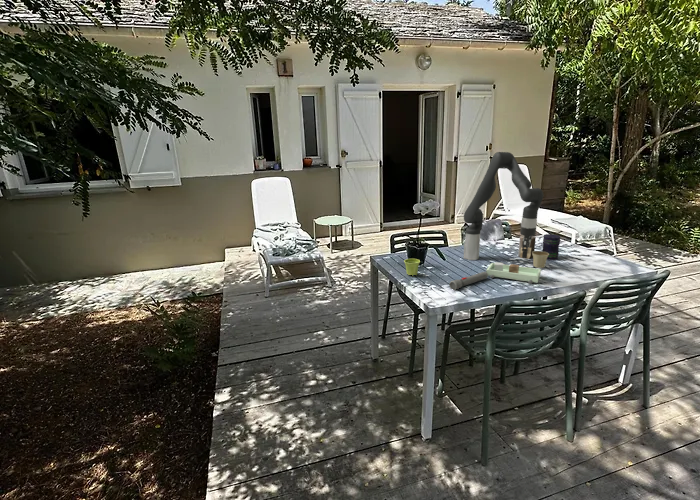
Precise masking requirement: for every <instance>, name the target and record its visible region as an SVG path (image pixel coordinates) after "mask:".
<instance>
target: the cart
mask: <svg viewBox="0 0 700 500" xmlns="http://www.w3.org/2000/svg"><path fill="white" fill-rule="evenodd" d="M509 266H510V264H504V263H503V271H497V270H495V262H491V263H490V264H489V265H488V267H487V268H486V270H485V272H487V274H488V277H489V278H490V279H491V278H492V279H494V278H503V279H510V280H517V281H521V282H527V283H528V285H532V284H533V283H536V284H537V283H538V282H539V280H540V278H541V273H542V268H537V267H535V268H534V267H526V266H520V265H519V273H512V272H509Z"/></svg>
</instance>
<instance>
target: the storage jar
mask: <svg viewBox="0 0 700 500" xmlns="http://www.w3.org/2000/svg"><path fill="white" fill-rule="evenodd" d="M560 244H561V235H559V234H554V233H553V234H552V233H549V234H547V233H546V234H543V239H542V250H541V251H543V252H547V253H549V255H548V257H547V260H548V261H557V260H558V259H559V254H560V253H559V252H560V251H559V247H560ZM547 260H546V261H547Z"/></svg>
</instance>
